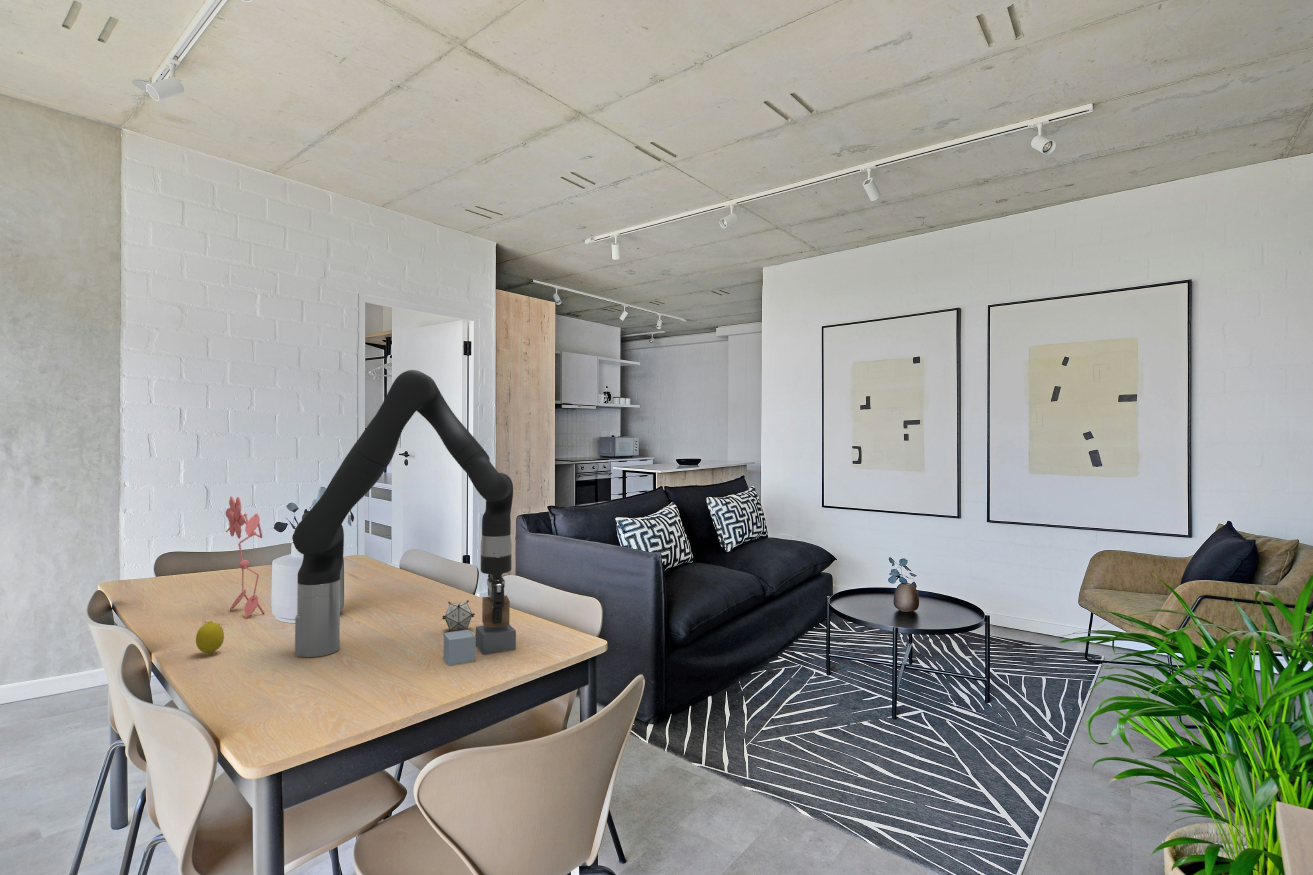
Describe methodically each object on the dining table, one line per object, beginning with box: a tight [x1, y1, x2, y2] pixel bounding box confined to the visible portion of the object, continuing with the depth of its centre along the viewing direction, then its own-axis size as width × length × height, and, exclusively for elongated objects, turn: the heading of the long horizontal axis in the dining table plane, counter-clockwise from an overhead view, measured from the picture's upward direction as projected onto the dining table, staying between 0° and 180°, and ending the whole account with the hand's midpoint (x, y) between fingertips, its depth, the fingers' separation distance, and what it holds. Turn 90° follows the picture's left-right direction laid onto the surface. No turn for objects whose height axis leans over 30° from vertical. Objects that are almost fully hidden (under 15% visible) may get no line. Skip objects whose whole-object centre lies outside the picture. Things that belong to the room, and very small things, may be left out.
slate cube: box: [443, 629, 476, 667], centre depth 149 cm, size 6×6×6 cm
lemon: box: [195, 620, 225, 656], centre depth 151 cm, size 6×6×8 cm
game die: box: [442, 599, 476, 633], centre depth 171 cm, size 9×8×10 cm
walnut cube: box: [481, 594, 511, 628], centre depth 158 cm, size 6×6×6 cm
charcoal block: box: [475, 624, 517, 656], centre depth 158 cm, size 8×8×5 cm
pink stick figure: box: [225, 496, 265, 619], centre depth 183 cm, size 15×26×35 cm, turn 49°
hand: (495, 619), depth 158 cm, fingers closed on walnut cube, 6 cm apart
